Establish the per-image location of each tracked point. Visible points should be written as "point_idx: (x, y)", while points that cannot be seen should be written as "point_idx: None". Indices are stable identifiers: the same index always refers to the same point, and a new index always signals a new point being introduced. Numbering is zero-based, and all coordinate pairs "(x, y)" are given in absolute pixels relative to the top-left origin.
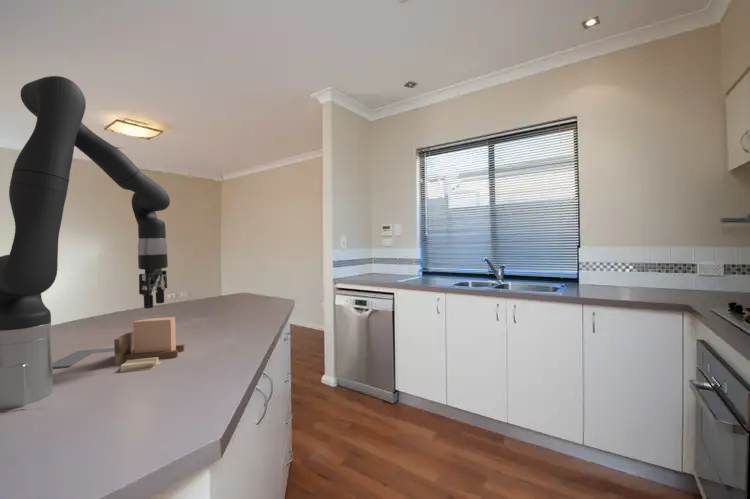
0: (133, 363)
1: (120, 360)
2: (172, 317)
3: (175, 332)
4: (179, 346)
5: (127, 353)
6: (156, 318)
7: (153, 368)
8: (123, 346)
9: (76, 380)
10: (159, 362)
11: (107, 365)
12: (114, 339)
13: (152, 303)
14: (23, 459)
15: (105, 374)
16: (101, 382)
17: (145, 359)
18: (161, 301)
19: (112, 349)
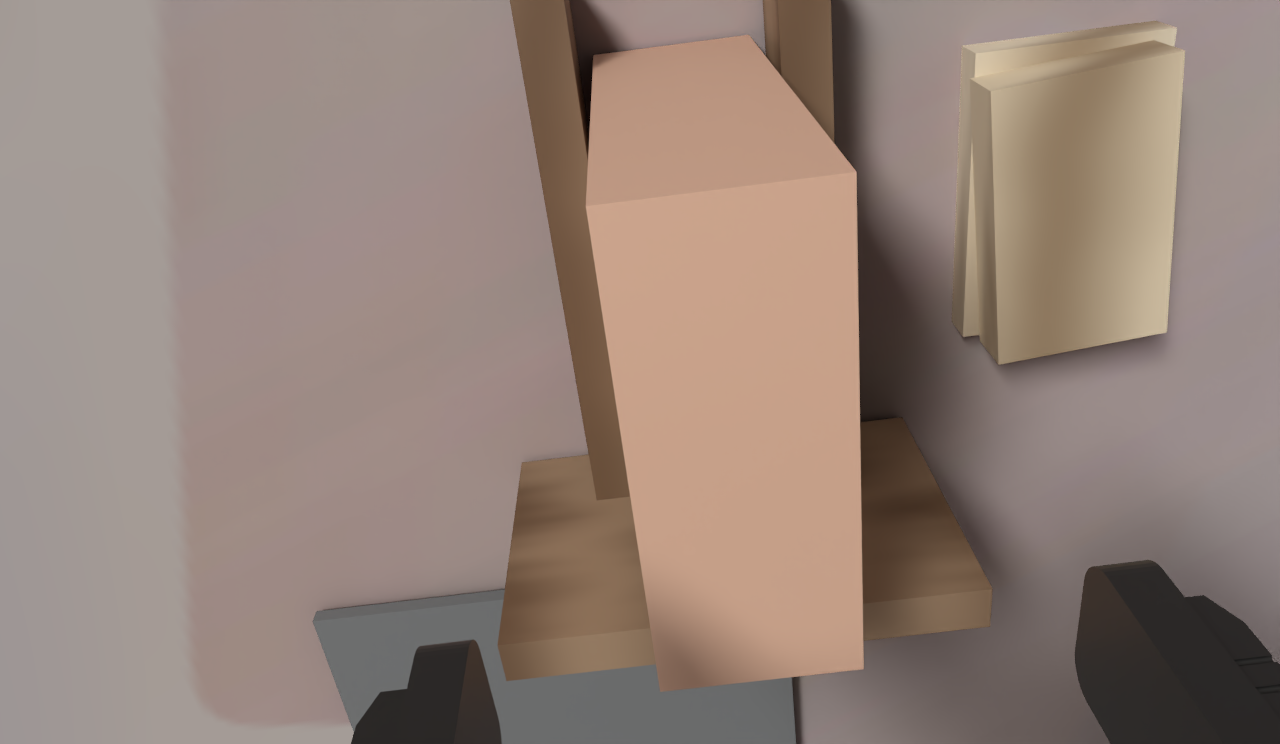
0: (1139, 248)
1: (901, 449)
2: (630, 238)
3: (593, 123)
4: (570, 36)
5: None
6: (665, 482)
7: (1173, 27)
8: (865, 529)
9: (1114, 547)
10: (986, 60)
11: None
12: (989, 625)
13: (1186, 620)
14: None
15: (1049, 428)
16: (1252, 349)
17: (1039, 194)
18: (478, 692)
19: None
